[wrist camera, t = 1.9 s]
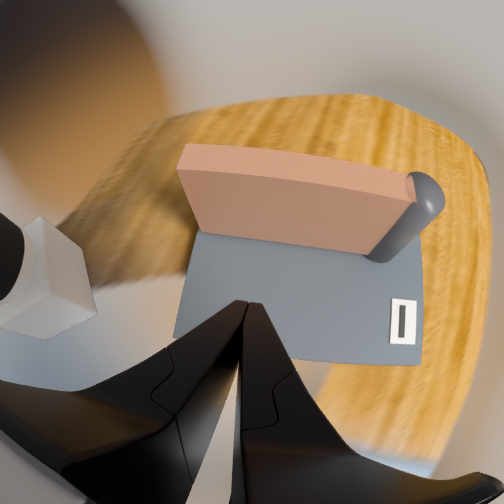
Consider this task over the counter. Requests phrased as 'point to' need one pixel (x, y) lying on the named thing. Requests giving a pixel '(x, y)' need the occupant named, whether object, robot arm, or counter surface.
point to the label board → (313, 297)
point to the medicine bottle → (41, 280)
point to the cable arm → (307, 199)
